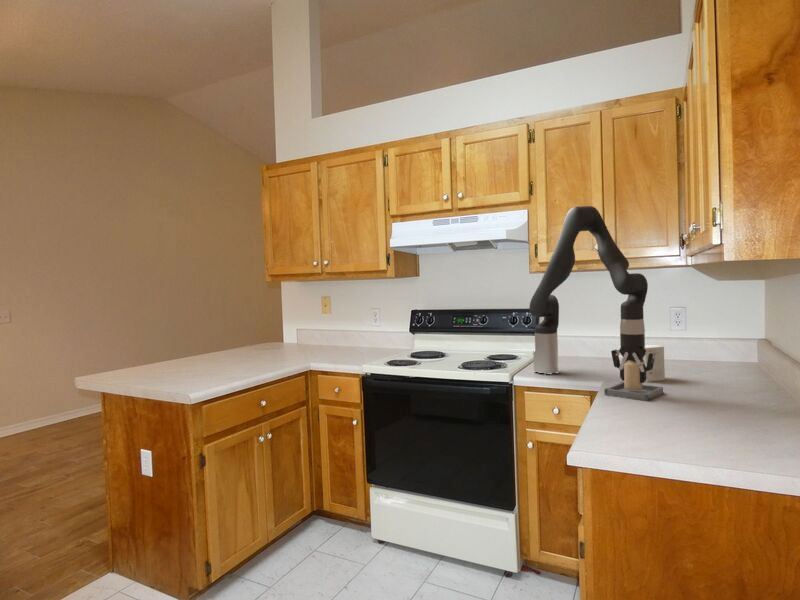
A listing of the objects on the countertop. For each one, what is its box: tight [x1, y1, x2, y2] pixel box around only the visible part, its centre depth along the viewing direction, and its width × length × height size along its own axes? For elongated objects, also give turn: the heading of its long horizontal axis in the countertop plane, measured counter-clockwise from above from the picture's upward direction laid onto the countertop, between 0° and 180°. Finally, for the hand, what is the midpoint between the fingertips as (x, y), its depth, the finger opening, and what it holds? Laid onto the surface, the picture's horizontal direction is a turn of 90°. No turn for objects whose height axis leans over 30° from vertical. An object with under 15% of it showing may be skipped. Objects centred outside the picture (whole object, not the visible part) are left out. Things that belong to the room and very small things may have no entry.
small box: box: [643, 344, 666, 383], centre depth 187 cm, size 8×6×13 cm
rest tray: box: [603, 381, 664, 402], centre depth 166 cm, size 14×14×2 cm
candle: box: [623, 360, 643, 390], centre depth 166 cm, size 6×6×10 cm
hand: (633, 381), depth 166 cm, fingers closed on candle, 5 cm apart
